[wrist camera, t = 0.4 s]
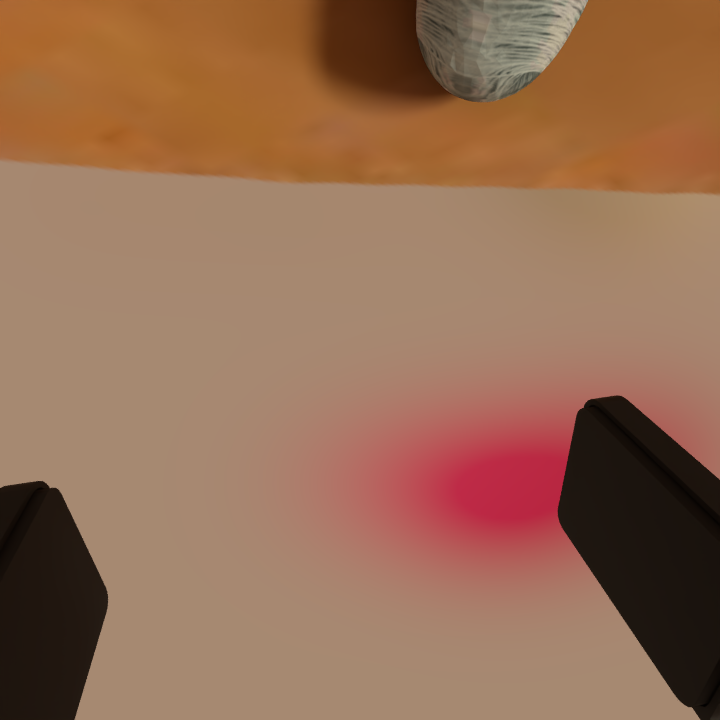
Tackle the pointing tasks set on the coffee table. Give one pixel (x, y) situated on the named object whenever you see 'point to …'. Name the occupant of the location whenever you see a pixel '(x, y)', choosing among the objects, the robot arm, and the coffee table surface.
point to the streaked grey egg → (492, 42)
